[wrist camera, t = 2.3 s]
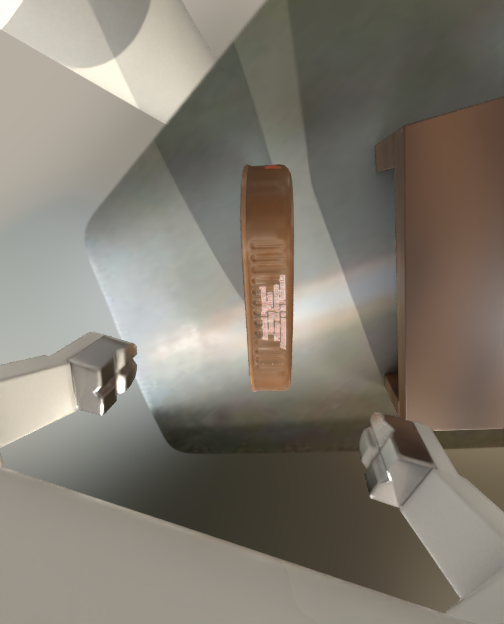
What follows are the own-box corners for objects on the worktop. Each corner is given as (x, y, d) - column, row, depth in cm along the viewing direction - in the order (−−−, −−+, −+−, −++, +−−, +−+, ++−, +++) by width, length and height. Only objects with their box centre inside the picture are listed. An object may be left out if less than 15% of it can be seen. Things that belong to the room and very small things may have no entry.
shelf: (385, 387, 24) (417, 456, 17) (374, 145, 16) (423, 111, 10) (512, 379, 21) (603, 454, 15) (566, 91, 14) (786, 3, 8)
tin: (252, 172, 18) (221, 153, 11) (296, 169, 18) (296, 146, 10) (259, 349, 24) (242, 418, 17) (292, 351, 24) (290, 422, 16)
